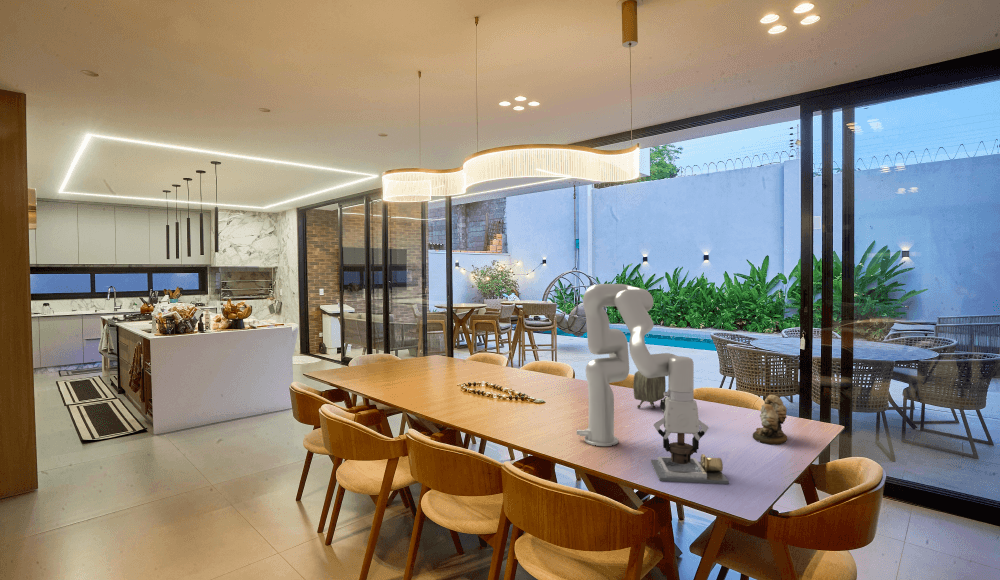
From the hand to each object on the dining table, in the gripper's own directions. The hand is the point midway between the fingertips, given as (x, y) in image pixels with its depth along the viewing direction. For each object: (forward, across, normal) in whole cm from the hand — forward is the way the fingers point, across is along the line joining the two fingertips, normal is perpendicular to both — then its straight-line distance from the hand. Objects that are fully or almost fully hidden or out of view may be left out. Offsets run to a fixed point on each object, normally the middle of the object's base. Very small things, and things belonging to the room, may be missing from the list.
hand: (680, 450), depth 160 cm
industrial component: (+4, -1, 0) cm, 4 cm away
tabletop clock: (+7, +4, +85) cm, 85 cm away
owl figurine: (+7, +42, +41) cm, 59 cm away
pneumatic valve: (+7, +10, +57) cm, 58 cm away
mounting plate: (+7, +2, 0) cm, 7 cm away
